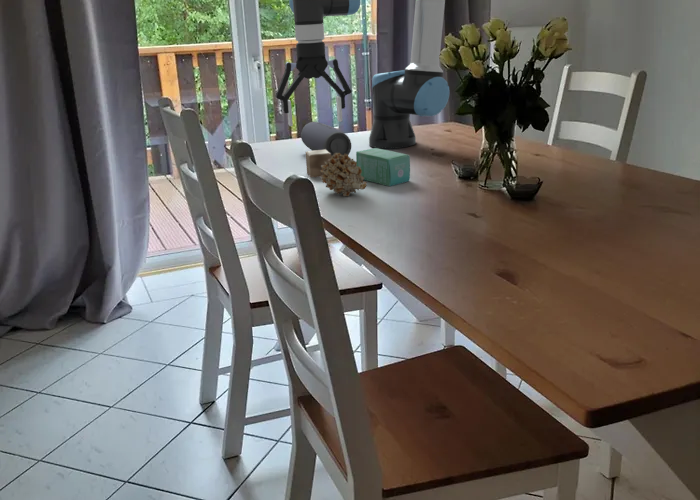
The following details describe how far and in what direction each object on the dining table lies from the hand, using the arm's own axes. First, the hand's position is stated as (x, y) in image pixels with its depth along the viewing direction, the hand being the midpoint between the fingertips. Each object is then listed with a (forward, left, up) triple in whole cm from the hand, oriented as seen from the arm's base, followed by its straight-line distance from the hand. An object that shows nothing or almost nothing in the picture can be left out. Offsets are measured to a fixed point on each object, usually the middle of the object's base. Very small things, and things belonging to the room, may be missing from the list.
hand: (315, 123), depth 190 cm
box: (-15, +14, -14) cm, 25 cm away
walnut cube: (0, 0, -14) cm, 14 cm away
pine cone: (-3, +27, -14) cm, 30 cm away
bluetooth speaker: (-6, -20, -14) cm, 25 cm away
